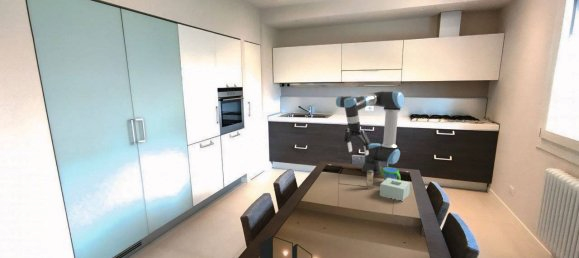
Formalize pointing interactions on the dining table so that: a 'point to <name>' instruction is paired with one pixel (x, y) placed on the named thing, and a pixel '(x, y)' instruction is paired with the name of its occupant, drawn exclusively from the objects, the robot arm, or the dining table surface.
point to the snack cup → (390, 173)
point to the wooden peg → (369, 179)
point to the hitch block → (394, 189)
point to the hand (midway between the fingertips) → (358, 153)
